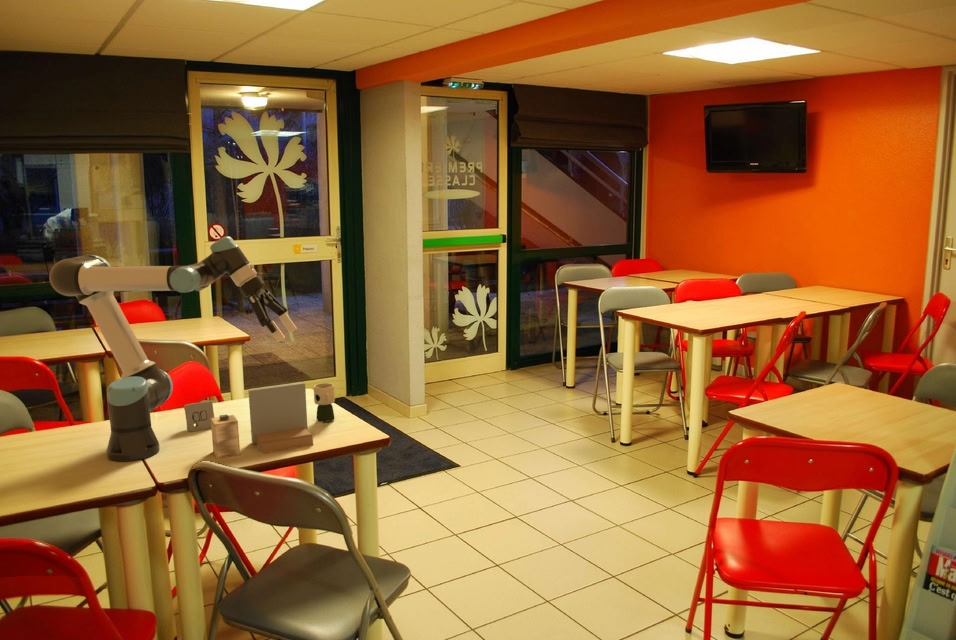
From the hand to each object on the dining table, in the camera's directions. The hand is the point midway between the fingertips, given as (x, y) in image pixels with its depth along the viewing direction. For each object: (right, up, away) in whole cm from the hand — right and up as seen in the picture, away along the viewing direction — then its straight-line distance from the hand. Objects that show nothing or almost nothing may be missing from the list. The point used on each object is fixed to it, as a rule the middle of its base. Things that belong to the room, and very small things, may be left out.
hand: (287, 335), depth 250 cm
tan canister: (-18, -37, -5) cm, 41 cm away
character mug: (+7, -31, +26) cm, 41 cm away
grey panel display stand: (-2, -35, +2) cm, 35 cm away
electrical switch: (-35, -33, +19) cm, 52 cm away
